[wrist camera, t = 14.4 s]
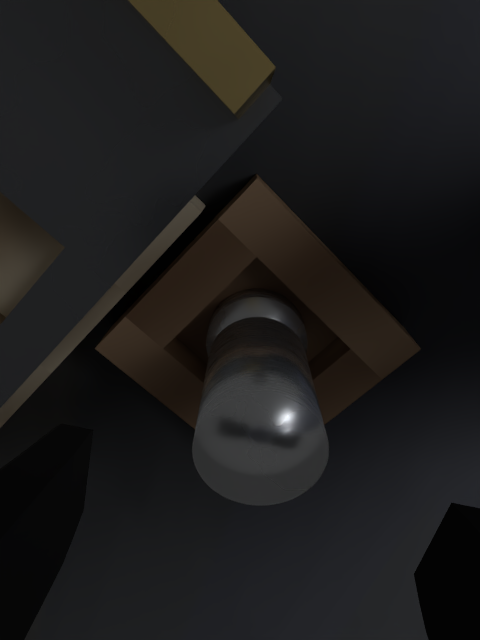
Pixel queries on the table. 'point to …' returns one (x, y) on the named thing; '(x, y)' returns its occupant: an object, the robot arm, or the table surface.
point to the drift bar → (112, 139)
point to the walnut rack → (257, 272)
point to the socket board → (33, 260)
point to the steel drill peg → (258, 403)
